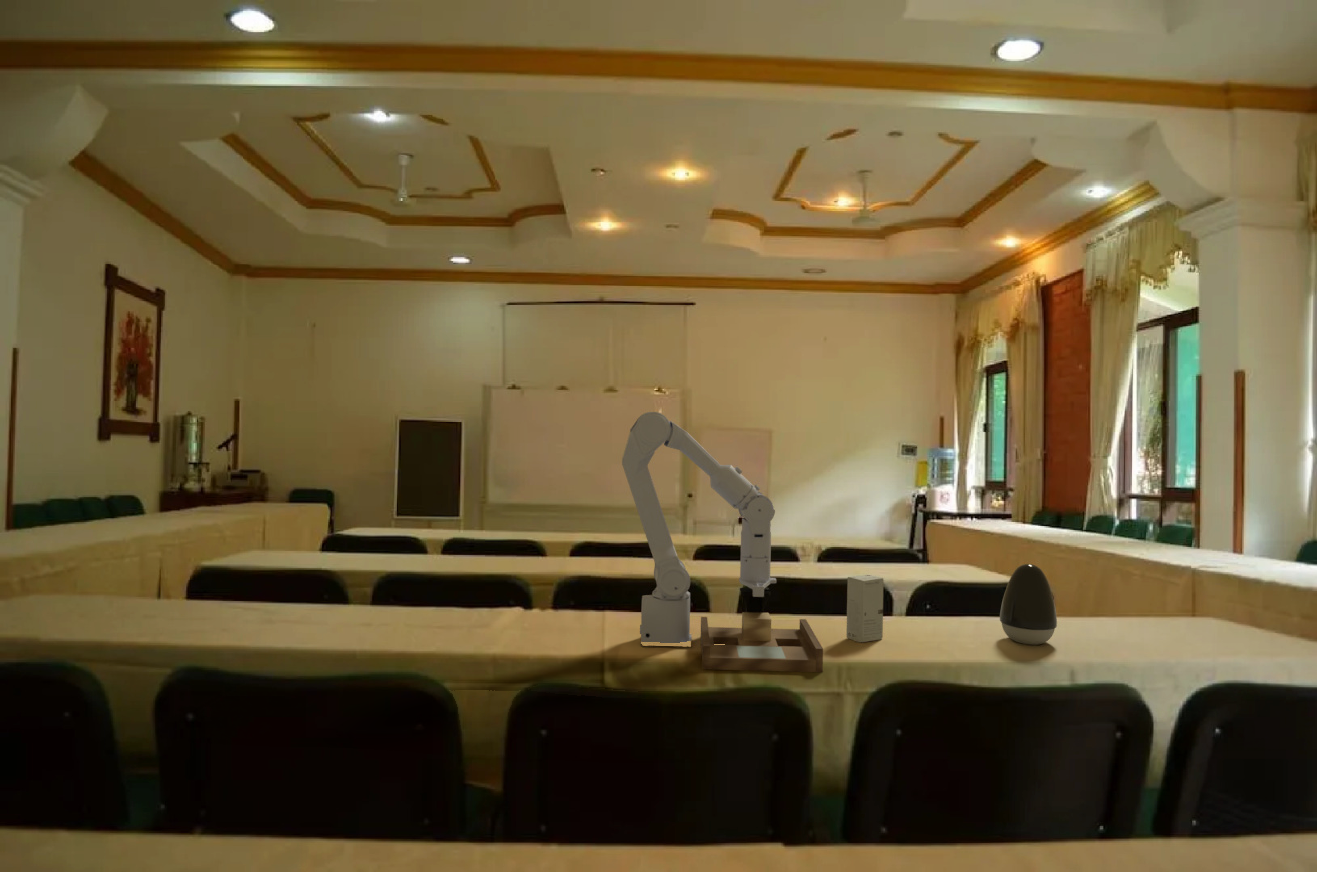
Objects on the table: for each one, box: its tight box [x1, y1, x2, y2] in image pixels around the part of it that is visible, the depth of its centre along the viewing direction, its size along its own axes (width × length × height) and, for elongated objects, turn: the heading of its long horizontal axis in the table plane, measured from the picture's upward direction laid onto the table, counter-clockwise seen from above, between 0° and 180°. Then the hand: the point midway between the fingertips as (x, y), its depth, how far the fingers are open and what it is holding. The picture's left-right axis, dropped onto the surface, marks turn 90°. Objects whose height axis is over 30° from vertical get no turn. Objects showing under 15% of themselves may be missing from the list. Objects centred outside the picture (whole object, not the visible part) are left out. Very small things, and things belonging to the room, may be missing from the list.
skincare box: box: [846, 574, 884, 643], centre depth 160 cm, size 6×4×12 cm
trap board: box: [700, 616, 824, 673], centre depth 149 cm, size 20×20×4 cm
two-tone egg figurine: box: [999, 563, 1058, 646], centre depth 160 cm, size 10×10×15 cm
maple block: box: [741, 611, 772, 641], centre depth 152 cm, size 5×5×4 cm
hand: (754, 626), depth 156 cm, fingers closed
